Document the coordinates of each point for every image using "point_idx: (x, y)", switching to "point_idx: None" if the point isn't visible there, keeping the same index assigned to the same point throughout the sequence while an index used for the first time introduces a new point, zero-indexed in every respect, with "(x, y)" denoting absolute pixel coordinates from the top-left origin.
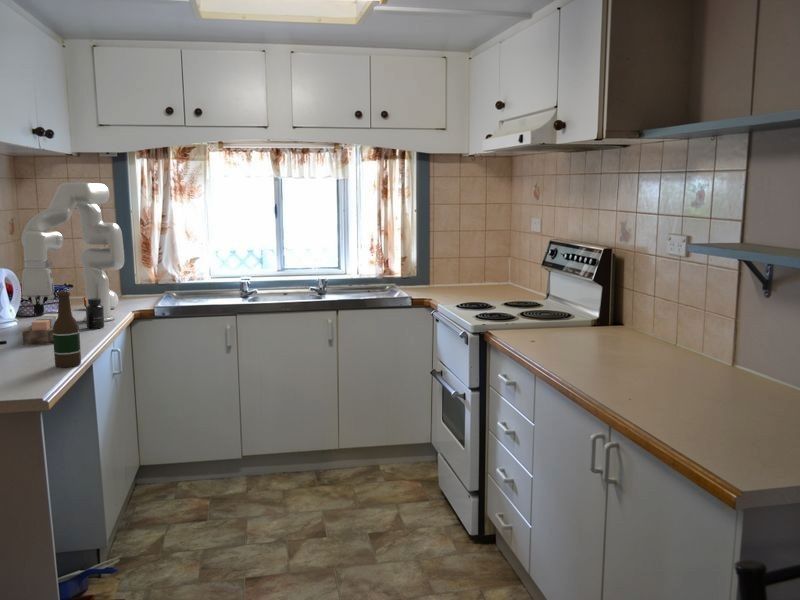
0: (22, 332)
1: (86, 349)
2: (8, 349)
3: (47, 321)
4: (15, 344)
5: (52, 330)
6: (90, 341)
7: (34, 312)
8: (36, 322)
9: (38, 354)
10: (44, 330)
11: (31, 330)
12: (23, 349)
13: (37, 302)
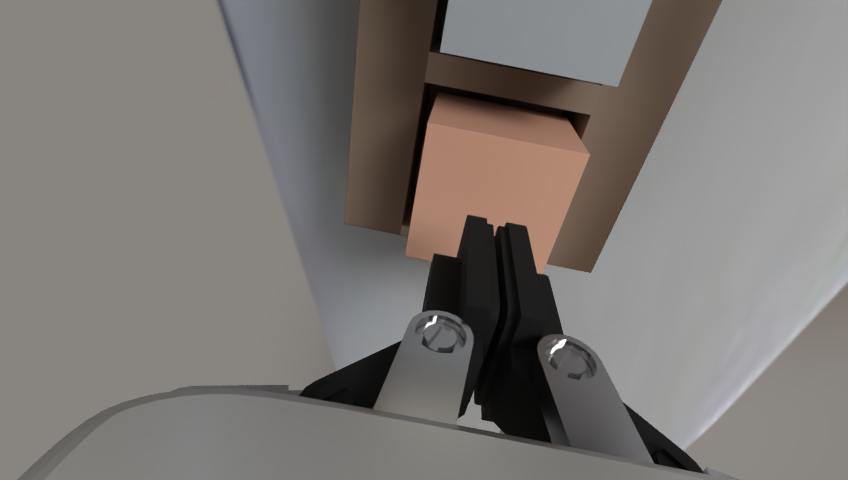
0: (347, 218)
1: (687, 410)
2: (314, 274)
3: (554, 241)
4: (316, 146)
5: (571, 268)
6: (798, 240)
7: (425, 292)
8: None
9: (470, 413)
10: None
11: (408, 187)
12: (392, 302)
13: (466, 396)
